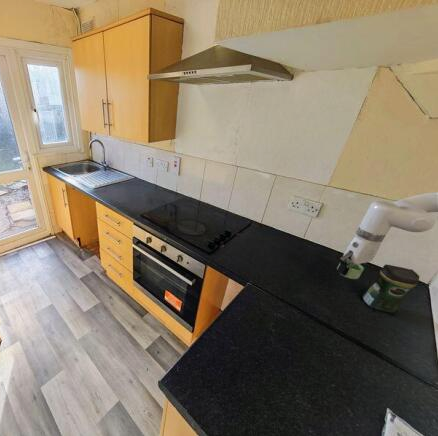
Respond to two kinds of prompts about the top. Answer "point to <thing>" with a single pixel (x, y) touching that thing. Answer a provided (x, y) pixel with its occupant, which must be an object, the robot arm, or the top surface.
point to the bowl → (354, 271)
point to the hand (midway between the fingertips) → (348, 271)
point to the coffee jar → (390, 288)
